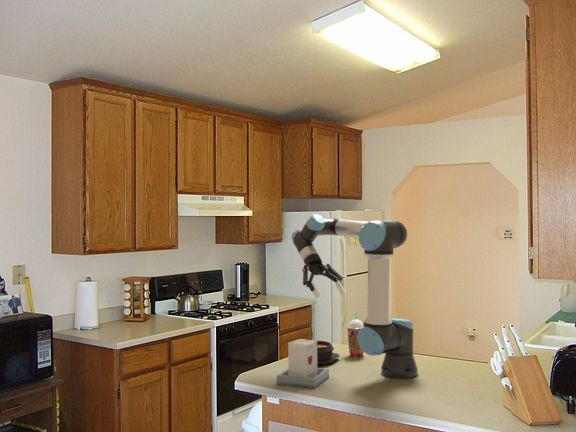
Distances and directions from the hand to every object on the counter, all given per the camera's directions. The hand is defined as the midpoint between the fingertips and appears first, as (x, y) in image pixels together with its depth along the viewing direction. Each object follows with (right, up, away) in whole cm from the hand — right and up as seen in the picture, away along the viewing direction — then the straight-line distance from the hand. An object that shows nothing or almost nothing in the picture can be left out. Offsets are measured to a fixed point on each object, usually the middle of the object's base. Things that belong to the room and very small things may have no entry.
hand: (331, 295), depth 256 cm
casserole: (-6, -33, +15) cm, 37 cm away
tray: (-12, -33, -15) cm, 38 cm away
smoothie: (+14, -32, +26) cm, 44 cm away
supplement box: (-12, -32, -15) cm, 37 cm away
